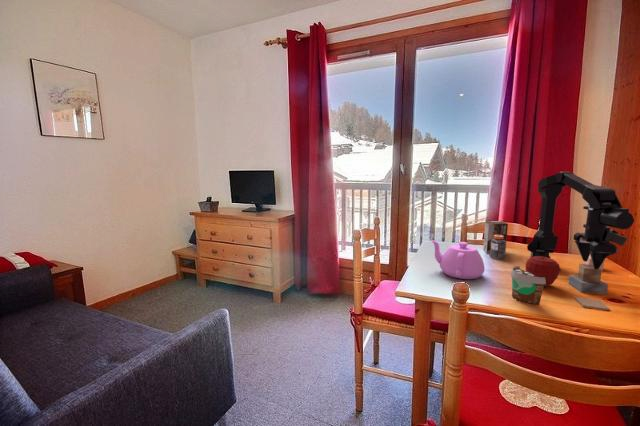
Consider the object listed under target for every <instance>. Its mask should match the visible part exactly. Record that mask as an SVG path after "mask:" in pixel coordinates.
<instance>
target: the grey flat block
mask: <svg viewBox="0 0 640 426" xmlns="http://www.w3.org/2000/svg"><path fill="white" fill-rule="evenodd" d="M567 282H568V284H567V285H569V286H570V287H572V288H574V289H575V290H577V291H578V292H580V293H584V294H585V293H586V294H598V295H599V294H600V295H607V293H608V289H609V284H608V283H606V282H605V281H603V280H601V279H600V283H595V282H587V281H582V280H581V279H580V278H579V277H578V274H569V275H568V281H567Z"/></svg>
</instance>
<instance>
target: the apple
mask: <svg viewBox="0 0 640 426" xmlns="http://www.w3.org/2000/svg"><path fill="white" fill-rule="evenodd" d="M525 271H527V272H530V273H532V274H534V275H535V276H537V277H540V278H545V280H546V284H544V286H543V288H544V287H547V286H550V285H552V284H554V283H555V281H556V280H557V278H559V274H560V273H561V267H560V264H559V263H558V262H557V261H556V260H555V259H554V258H551V257H550V258H547V257H544V256H543V257H542V256H534V257H531V258H530V257H529V258H527V260H526V262H525Z"/></svg>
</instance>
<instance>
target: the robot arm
mask: <svg viewBox="0 0 640 426" xmlns="http://www.w3.org/2000/svg"><path fill="white" fill-rule="evenodd" d="M567 186H568V187H569V188H571V189H572V190H574V191H575V192H577V193H579V194H581V196H582V197H581V198H582V200H584V201H585V202H586V203H587V204H586V205H584V206H583V207H582V209H583V210H587V214H586V221H585V224H583V225H582V226H583V228H584V232H575V234H573V240H574V242H575V246H577V249H578V252H579V254H580V256H581V259H582V261H583V262H584V261H587V260H588V258H589V256H591V259H592V263H593V266H594V269H599V268H600V266H601V264H602V263H603V261H604V262H605V260H606V259H607V257H610V256H613V255H615V254H618V250H619V249H618V246H617V245H619V246H621V247H623V246H624V245H625V244H626V242H627V241H628V239H629V238H628V237H625V236H623V235H621V234H619V232H618V230H628V229H629V228H631V227H632V226H633V224H634V223H635V219H634V216H633V214H632V213H630V209H629V208H626V207H625V208H624V207H623V206H622V203H621V202H620V200H619V197H618V195H617V194H616V191H615V190H614V189H613V188H610V187H606V186H602V185H596V184H593V183H591V182H589V181H587V180H585V179H584V178H582V177H580V176H578V175H576V174H575V173H574V172H571V171H560V172H558V173H556V174H553V175H549V176H546V177H542V178H541V179H540V180H539V181H538V183H537V187H538V188H537V189H538V190H537V191H538V193H539V196H540V197H541V207H540V216H539V224H538V230H537V231H536V232H535V233H534V235H533V237H532V241H531V242H529V243H528V244H527V245H526V248H527V251H529V252H530V255H529V256H530V257H529V258H531V257H534V256H542V257H543V256H544V257H547V258H551V256H550V254H554V252H555V250H556V248H557V246H558V239H559V237H558V235H556V234H555V233H554V221H555V212H556V205H557V198H558V197H559V196H560V195H561V194H562V192H563V188H564V187H567ZM610 227H611V228H614V229H611V228H610ZM615 228H616V229H618V230H615ZM615 244H617V245H615Z"/></svg>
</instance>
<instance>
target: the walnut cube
mask: <svg viewBox="0 0 640 426" xmlns="http://www.w3.org/2000/svg"><path fill="white" fill-rule="evenodd" d="M602 272H603V271H602V269H600V268H599V269H594V266H593V265H587V264H584V263H579V264H578V272H577V275H578V277H579V278H580V279H581V280H582V281H587V282H595V283H600V280H601V279H602Z"/></svg>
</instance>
